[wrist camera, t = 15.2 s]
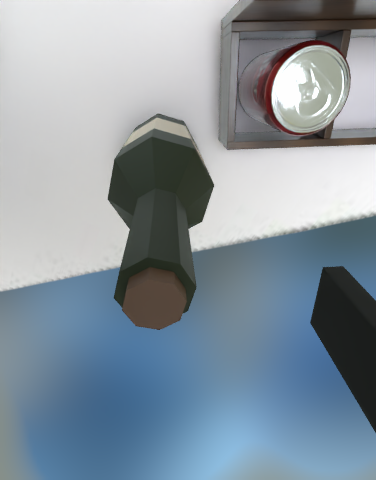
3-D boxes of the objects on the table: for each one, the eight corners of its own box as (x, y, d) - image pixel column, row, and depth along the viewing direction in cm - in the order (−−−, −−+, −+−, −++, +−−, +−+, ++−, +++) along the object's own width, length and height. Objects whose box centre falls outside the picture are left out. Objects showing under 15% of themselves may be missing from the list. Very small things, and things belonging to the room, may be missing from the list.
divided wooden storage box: (218, 140, 38) (243, 168, 26) (221, 19, 32) (255, -19, 20) (387, 134, 39) (489, 159, 27) (420, 16, 33) (571, -23, 21)
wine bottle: (170, 193, 41) (175, 401, 14) (117, 155, 38) (2, 325, 12) (209, 142, 38) (306, 286, 12) (155, 97, 35) (119, 150, 9)
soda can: (306, 101, 36) (363, 110, 26) (251, 132, 38) (284, 152, 27) (286, 38, 33) (341, 18, 23) (227, 74, 34) (253, 71, 24)
